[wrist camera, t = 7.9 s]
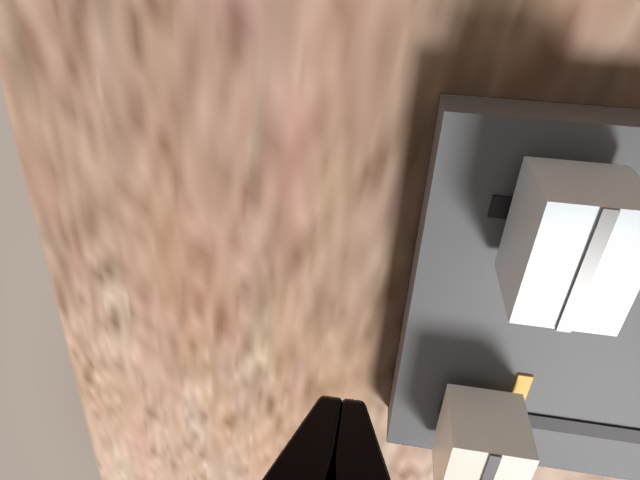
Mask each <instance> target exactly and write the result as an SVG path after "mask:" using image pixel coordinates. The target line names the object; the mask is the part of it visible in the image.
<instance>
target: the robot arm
mask: <svg viewBox="0 0 640 480" xmlns="http://www.w3.org/2000/svg"><path fill="white" fill-rule="evenodd" d="M262 480H391V479H390V476H389V473H388V470H387V467H386V464H385V461H384V458H383V455H382V452H381V449H380V446H379V443H378V440H377V437H376V434H375V431H374V428H373V425H372V422H371V419H370V416H369V414H368V411H367V408H366V405H365V403H364V402H363V401H360V400H353V399H344V400H343V402H342V400H341V399H340V398H338V397H331V396H321V397H320V398H319V399H318V400H317V402H316V403H315V405H314V406H313V408H312V409H311V410H310V412H309V413H308V415H307V416H306V418H305V419H304V420H303V422H302V423H301V425H300V426H299V428H298V429H297V430H296V432H295V433H294V435H293V436H292V438H291V439H290V440H289V442H288V443H287V445H286V446H285V448H284V449H283V450H282V452H281V453H280V455H279V456H278V458H277V459H276V461H275V462H274V463H273V465H272V466H271V468H270V469H269V471H268V472H267V473H266V475H265V476H264V478H263V479H262Z"/></svg>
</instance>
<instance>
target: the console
mask: <svg viewBox="0 0 640 480" xmlns="http://www.w3.org/2000/svg"><path fill="white" fill-rule="evenodd" d="M524 156H529V157H540V158H551V159H562V160H573V161H584V162H595V163H606V164H617V165H629V166H630V167H631V168H632V169H633V170H634V171H635V172H636V173H637V174H638V175H639V176H640V109H633V108H620V107H607V106H595V105H582V104H569V103H556V102H544V101H531V100H518V99H506V98H493V97H480V96H468V95H455V94H442V93H441V95H440V101H439V107H438V113H437V119H436V125H435V131H434V137H433V143H432V149H431V155H430V161H429V167H428V173H427V179H426V185H425V191H424V197H423V203H422V209H421V215H420V221H419V227H418V233H417V239H416V245H415V251H414V257H413V263H412V269H411V275H410V281H409V287H408V293H407V299H406V305H405V311H404V316H403V322H402V328H401V334H400V340H399V346H398V352H397V358H396V364H395V370H394V376H393V382H392V388H391V394H390V400H389V406H388V424H387V442H389V443H395V444H402V445H408V446H414V447H421V448H427V449H432V442H433V439H434V435H435V431H436V427H437V423H438V419H439V415H440V411H441V407H442V403H443V399H444V395H445V391H446V387H447V383H448V384H455V385H462V386H469V387H476V388H483V389H490V390H497V391H504V392H511V393H518V394H523V396H524V400H525V404H526V408H527V412H528V416H529V420H530V424H531V428H532V432H533V436H534V440H535V444H536V448H537V453H538V457H539V463H538V466H543V467H549V468H555V469H562V470H568V471H575V472H581V473H588V474H594V475H600V476H607V477H613V478H620V479H626V480H640V289H639V291H638V294H637V296H636V298H635V300H634V302H633V304H632V306H631V308H630V310H629V312H628V314H627V316H626V318H625V321H624V323H623V325H622V327H621V329H620V331H619V333H618V335H617V336H609V335H601V334H593V333H586V332H578V331H571V333H568V332H560V331H556V330H555V329H554V328H546V327H538V326H530V325H522V324H514V323H509V321H508V317H507V313H506V310H505V306H504V302H503V298H502V294H501V290H500V286H499V282H498V278H497V274H496V271H495V267H494V263H495V260H496V256H497V253H498V249H499V245H500V242H501V238H502V234H503V231H504V227H505V223H506V220H507V216H508V213H509V209H510V205H511V202H512V198H513V194H514V191H515V187H516V183H517V180H518V176H519V172H520V169H521V165H522V162H523V158H524Z"/></svg>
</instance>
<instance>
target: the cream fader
mask: <svg viewBox="0 0 640 480" xmlns="http://www.w3.org/2000/svg"><path fill="white" fill-rule="evenodd" d="M432 456H433V479H434V480H531V479H532V477H533V474H534V472H535V470H536V468H537V466H538V463H539V457H538V453H537V448H536V444H535V440H534V436H533V432H532V428H531V424H530V420H529V416H528V412H527V408H526V404H525V400H524V396H523V394H518V393H511V392H504V391H497V390H490V389H483V388H476V387H469V386H462V385H455V384H448V383H447V387H446V391H445V395H444V399H443V403H442V407H441V411H440V415H439V419H438V423H437V427H436V431H435V435H434V439H433V442H432Z"/></svg>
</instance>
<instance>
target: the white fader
mask: <svg viewBox="0 0 640 480" xmlns="http://www.w3.org/2000/svg"><path fill="white" fill-rule="evenodd" d="M494 267H495V271H496V274H497V278H498V282H499V286H500V290H501V294H502V298H503V302H504V306H505V310H506V313H507V317H508V321H509V323H514V324H522V325H530V326H538V327H546V328H554V329H555V330H556V331H560V332H568V333H571V331H578V332H586V333H593V334H601V335H609V336H617V335H618V333H619V331H620V329H621V327H622V325H623V323H624V321H625V318H626V316H627V314H628V312H629V310H630V308H631V306H632V304H633V302H634V300H635V298H636V296H637V294H638V291H639V289H640V176H639V175H638V174H637V173H636V172H635V171H634V170H633V169H632V168H631V167H630V166H629V165H617V164H606V163H595V162H584V161H573V160H562V159H551V158H540V157H529V156H524V158H523V162H522V165H521V169H520V172H519V176H518V180H517V183H516V187H515V191H514V194H513V198H512V202H511V205H510V209H509V213H508V216H507V220H506V223H505V227H504V231H503V234H502V238H501V242H500V245H499V249H498V253H497V256H496V260H495V263H494Z"/></svg>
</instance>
